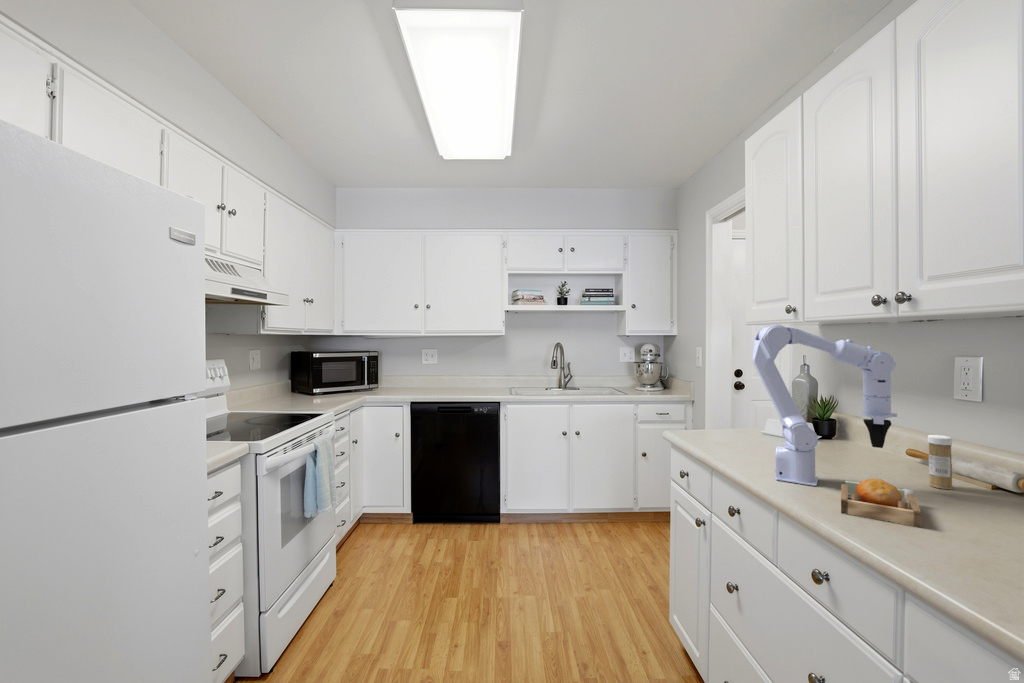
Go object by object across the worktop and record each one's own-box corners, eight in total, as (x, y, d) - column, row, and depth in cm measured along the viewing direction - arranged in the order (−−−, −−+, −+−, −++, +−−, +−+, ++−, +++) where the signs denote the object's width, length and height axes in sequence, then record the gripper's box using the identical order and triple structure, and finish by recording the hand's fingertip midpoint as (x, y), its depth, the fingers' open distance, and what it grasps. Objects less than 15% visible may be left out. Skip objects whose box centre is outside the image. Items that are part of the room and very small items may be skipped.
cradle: (841, 513, 99) (840, 495, 99) (841, 495, 110) (841, 479, 110) (921, 527, 91) (921, 508, 91) (913, 507, 101) (913, 490, 101)
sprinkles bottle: (954, 487, 114) (954, 436, 114) (950, 491, 112) (949, 438, 112) (931, 483, 118) (930, 433, 118) (926, 486, 115) (925, 435, 115)
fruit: (887, 497, 104) (895, 474, 100) (902, 526, 98) (911, 502, 94) (846, 494, 107) (853, 471, 103) (858, 522, 100) (866, 498, 96)
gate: (914, 504, 103) (914, 489, 103) (915, 506, 101) (915, 492, 101) (845, 492, 111) (845, 479, 111) (845, 495, 109) (845, 481, 109)
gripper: (899, 400, 108) (900, 455, 108) (894, 394, 120) (894, 443, 120) (862, 398, 112) (863, 451, 112) (861, 392, 124) (861, 440, 124)
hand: (877, 447), depth 116 cm, fingers closed
